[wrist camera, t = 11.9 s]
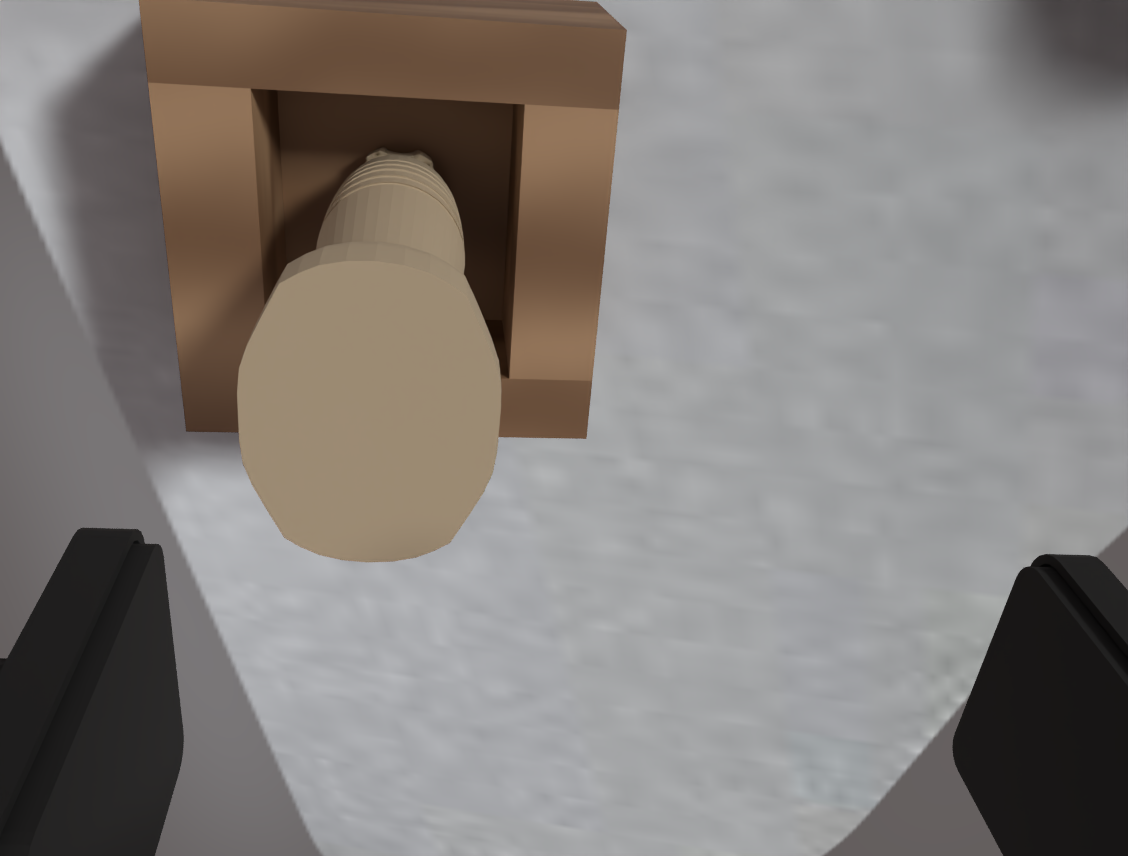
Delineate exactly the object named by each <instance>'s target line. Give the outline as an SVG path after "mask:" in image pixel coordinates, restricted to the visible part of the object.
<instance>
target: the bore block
mask: <svg viewBox="0 0 1128 856" xmlns="http://www.w3.org/2000/svg"><path fill="white" fill-rule="evenodd" d="M139 6H140V15H141V24H142V33H143V42H144V51H145V60H146V70H147V79H148V88H149V97H150V106H151V115H152V124H153V133H154V142H155V151H156V161H157V170H158V179H159V188H160V197H161V206H162V215H163V224H164V233H165V242H166V251H167V261H168V270H169V279H170V288H171V297H172V306H173V315H174V324H175V333H176V342H177V351H178V361H179V370H180V379H181V388H182V397H183V406H184V415H185V424H186V431H188V432H239V426H238V404H237V387H238V373H239V367H240V363H241V360H242V357H243V353H244V351H245V348H246V346H247V343H248V341H249V338H250V336H251V333H252V331H253V329H254V327H255V325H256V323H257V321H258V319H259V317H260V315H261V313H262V311H263V309H264V306H265V304H266V302H267V300H268V299H269V297H270V295H271V293H272V291H273V289H274V287H275V285H276V283H277V282H278V280H279V278H280V276H281V274H282V272H283V271H284V269H285V267H286V266H287V264H288V263H290V262H292V261H294V260H295V259H297V258H299V257H301V256H303V255H304V254H306V253H309V252H312V251H314V250H316V246H317V241H318V237H319V233H320V230H321V227H322V224H323V221H324V218H325V215H326V213H327V211H328V208H329V206H330V204H331V202H332V200H333V198H334V196H335V194H336V193H337V191H338V189H339V188H340V186H341V185H342V183H343V182H344V181H345V180H346V178H347V177H348V176H349V175H350V174H351V173H352V172H353V171H354V170H356V169H357V168H358V167H360V166H361V165H362V164H364V163H365V160H366V157H367V155H368V154H369V153H370V152H372V151H374V150H376V149H378V148H381V147H385V148H386V149H388V150H390V151H393V152H397V153H410V152H414V151H415V150H420V151H422V152H424V153H425V154H427V155H428V156H430V158H431V159H432V162H433V168H434V170H435V171H436V172H437V173H438V174H439V175H440V176H441V178H442V179H443V180H444V182H445V183H446V184H447V186H448V187H449V189H450V191H451V193H452V195H453V197H454V200H455V203H456V206H457V208H458V212H459V216H460V220H461V225H462V231H463V239H464V251H465V268H464V275H465V277H466V279H467V281H468V284H469V286H470V288H471V290H472V292H473V294H474V297H475V299H476V301H477V304H478V306H479V308H480V311H481V313H482V315H483V318H484V321H485V323H486V326H487V328H488V331H489V333H490V336H491V338H492V341H493V344H494V347H495V350H496V353H497V357H498V360H499V366H500V375H501V414H500V425H499V436H498V437H525V438H581V439H586V437H587V426H588V416H589V406H590V396H591V386H592V376H593V366H594V356H595V345H596V335H597V325H598V315H599V305H600V295H601V285H602V275H603V264H604V254H605V244H606V234H607V224H608V214H609V204H610V194H611V184H612V173H613V163H614V153H615V143H616V133H617V123H618V113H619V103H620V92H621V82H622V72H623V62H624V52H625V42H626V32H627V30H626V29H625V28H624V27H623V26H622V25H621V24H620V23H619V22H617V21H616V20H615V19H614V18H613V17H612V16H611V15H610V14H609V13H608V12H607V11H606V10H605V9H604V8H603V7H602V6H600V5H599V4H598V3H597V2H589V1H575V0H139Z"/></svg>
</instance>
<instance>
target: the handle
mask: <svg viewBox="0 0 1128 856" xmlns="http://www.w3.org/2000/svg"><path fill="white" fill-rule="evenodd" d="M464 268H465V251H464V239H463V231H462V225H461V220H460V216H459V212H458V208H457V206H456V203H455V200H454V197H453V195H452V193H451V191H450V189H449V187H448V186H447V184H446V183H445V182H444V180H443V179H442V178H441V176H440V175H439V174H438V173H437V172H436V171H435V170H434V168H433V162H432V159H431V158H430V156H428V155H427V154H425V153H424V152H422V151H420V150H415V151H414V152H410V153H397V152H393V151H390V150H388V149H386V148H385V147H381V148H378V149H376V150H374V151H372V152H370V153H369V154H368V155H367V157H366V160H365V163H364V164H362V165H361V166H360V167H358V168H357V169H356V170H354V171H353V172H352V173H351V174H350V175H349V176H348V177H347V178H346V180H345V181H344V182H343V183H342V185H341V186H340V188H339V189H338V191H337V193H336V194H335V196H334V198H333V200H332V202H331V204H330V206H329V208H328V211H327V213H326V215H325V218H324V221H323V224H322V227H321V230H320V233H319V237H318V241H317V246H316V250H314V251H312V252H309V253H306V254H304V255H303V256H301V257H299V258H297V259H295V260H294V261H292V262H290V263H288V264H287V266H286V267H285V269H284V271H283V272H282V274H281V276H280V278H279V280H278V282H277V283H276V285H275V287H274V289H273V291H272V293H271V295H270V297H269V299H268V300H267V302H266V304H265V306H264V309H263V311H262V313H261V315H260V317H259V319H258V321H257V323H256V325H255V327H254V329H253V331H252V333H251V336H250V338H249V341H248V343H247V346H246V348H245V351H244V353H243V357H242V360H241V363H240V367H239V373H238V387H237V404H238V426H239V443H240V449H241V455H242V461H243V465H244V467H245V469H246V472H247V474H248V476H249V479H250V481H251V483H252V485H253V487H254V489H255V491H256V492H257V494H258V496H259V497H260V499H261V501H262V503H263V504H264V506H265V508H266V509H267V511H268V512H269V514H270V516H271V517H272V519H273V520H274V522H275V524H276V525H277V527H278V528H279V530H280V532H281V533H282V535H283V536H284V538H286V539H287V540H289V541H291V542H293V543H294V544H296V545H298V546H300V547H302V548H304V549H307V550H309V551H311V552H314V553H316V554H319V555H322V556H327V557H331V558H336V559H340V560H348V561H359V562H390V561H398V560H404V559H410V558H416V557H418V556H421V555H424V554H427V553H429V552H432V551H435V550H437V549H439V548H441V547H443V546H445V545H447V544H449V543H450V542H451V540H452V539H453V538H454V536H455V535H456V533H457V532H458V530H459V529H460V527H461V526H462V524H463V523H464V522H465V520H466V519H467V517H468V516H469V514H470V513H471V511H472V510H473V508H474V506H475V505H476V503H477V502H478V500H479V499H480V497H481V496H482V494H483V492H484V490H485V488H486V486H487V484H488V482H489V480H490V478H491V475H492V473H493V468H494V464H495V459H496V454H497V447H498V436H499V425H500V414H501V375H500V366H499V360H498V357H497V353H496V350H495V347H494V344H493V341H492V338H491V336H490V333H489V331H488V328H487V326H486V323H485V321H484V318H483V315H482V313H481V311H480V308H479V306H478V304H477V301H476V299H475V297H474V294H473V292H472V290H471V288H470V286H469V284H468V281H467V279H466V277H465V275H464Z"/></svg>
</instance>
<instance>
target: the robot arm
mask: <svg viewBox="0 0 1128 856" xmlns="http://www.w3.org/2000/svg"><path fill="white" fill-rule="evenodd" d="M183 742H184V736H183V724H182V716H181V707H180V698H179V689H178V680H177V671H176V662H175V654H174V645H173V637H172V627H171V618H170V609H169V600H168V591H167V582H166V573H165V565H164V556H163V551H162V548H161V546H160V545H159V544H145V543H144V538H143V535H142V533H141V531H139V530H138V529H105V528H81V529H79V530H77V532H76V533H75V534H74V536H73V538H72V539H71V541H70V543H69V545H68V547H67V549H66V550H65V553H64V554H63V556H62V558H61V560H60V562H59V563H58V565H57V567H56V569H55V571H54V573H53V575H52V576H51V578H50V580H49V582H48V584H47V586H46V588H45V590H44V591H43V593H42V595H41V597H40V599H39V601H38V602H37V604H36V606H35V608H34V610H33V612H32V614H31V615H30V617H29V619H28V621H27V623H26V625H25V627H24V629H23V630H22V632H21V634H20V636H19V638H18V640H17V641H16V643H15V645H14V647H13V649H12V651H11V653H10V654H9V656H8V658H7V659H1V658H0V856H155V853H156V849H157V846H158V843H159V839H160V835H161V832H162V829H163V825H164V822H165V819H166V815H167V812H168V808H169V805H170V802H171V798H172V795H173V791H174V788H175V784H176V781H177V778H178V774H179V770H180V766H181V761H182V755H183ZM953 757H954V760H955V765H956V767H957V769H958V772H959V773H960V775H961V777H962V779H963V781H964V782H965V785H966V786H967V788H968V790H969V792H970V794H971V796H972V798H973V800H974V802H975V803H976V805H977V807H978V809H979V811H980V813H981V815H982V817H983V818H984V820H985V822H986V824H987V826H988V828H989V829H990V832H991V833H992V835H993V837H994V839H995V841H996V843H997V845H998V847H999V848H1000V850H1001V852H1002V854H1003V856H1128V590H1127V589H1126V588H1125V587H1124V586H1123V584H1122V583H1121V582H1120V581H1119V580H1118V579H1117V578H1116V577H1115V575H1114V574H1113V573H1112V572H1111V571H1110V570H1109V569H1108V567H1107V566H1106V565H1105V564H1104V563H1103V562H1102V561H1100V560H1099V559H1098V558H1097V557H1093V556H1090V555H1056V554H1045V555H1041V556H1039V557H1037V558H1036V559H1035V560H1034V561H1033V563H1032V564H1031V566H1030V567H1025V568H1023V569H1022V570H1021V571H1020V572H1019V574H1018V576H1017V577H1016V580H1015V582H1014V585H1013V587H1012V590H1011V592H1010V595H1009V598H1008V600H1007V603H1006V605H1005V608H1004V610H1003V613H1002V615H1001V618H1000V620H999V623H998V625H997V628H996V630H995V633H994V636H993V638H992V641H991V643H990V646H989V648H988V651H987V653H986V656H985V658H984V661H983V663H982V666H981V668H980V671H979V674H978V676H977V679H976V681H975V684H974V686H973V689H972V691H971V694H970V696H969V699H968V701H967V704H966V706H965V709H964V712H963V714H962V717H961V719H960V722H959V724H958V727H957V729H956V732H955V735H954V739H953Z"/></svg>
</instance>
